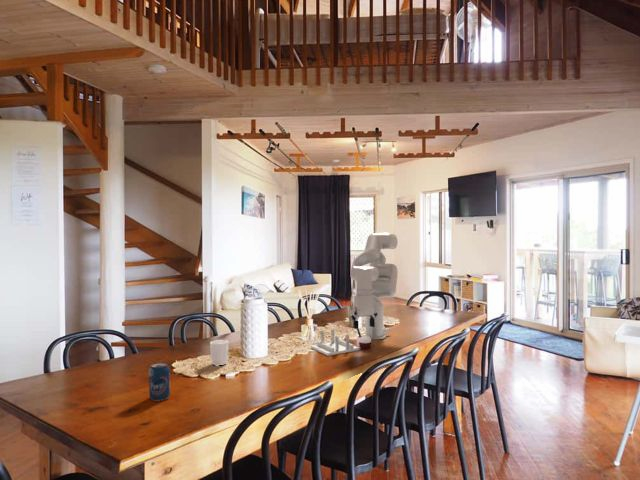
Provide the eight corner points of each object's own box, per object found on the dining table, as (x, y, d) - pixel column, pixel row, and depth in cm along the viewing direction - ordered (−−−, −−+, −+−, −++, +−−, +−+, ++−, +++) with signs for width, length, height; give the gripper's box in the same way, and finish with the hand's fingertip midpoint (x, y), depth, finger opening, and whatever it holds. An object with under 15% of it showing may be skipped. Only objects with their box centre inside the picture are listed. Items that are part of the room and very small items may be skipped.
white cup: (207, 364, 195) (206, 342, 195) (222, 360, 201) (221, 338, 200) (217, 368, 189) (216, 345, 189) (232, 363, 195) (231, 341, 195)
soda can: (149, 403, 152) (149, 368, 152) (149, 396, 158) (148, 363, 158) (170, 399, 155) (170, 365, 155) (169, 393, 161) (168, 360, 161)
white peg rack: (341, 342, 228) (341, 327, 228) (359, 350, 214) (359, 333, 214) (311, 348, 219) (311, 331, 219) (327, 355, 205) (327, 338, 205)
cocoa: (375, 349, 216) (376, 325, 215) (366, 352, 212) (368, 327, 211) (361, 345, 223) (362, 322, 223) (352, 347, 219) (353, 323, 218)
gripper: (373, 291, 224) (373, 324, 224) (345, 293, 215) (345, 328, 215) (382, 292, 217) (382, 327, 217) (353, 294, 209) (353, 330, 209)
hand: (364, 327), depth 216 cm, fingers open, 9 cm apart
